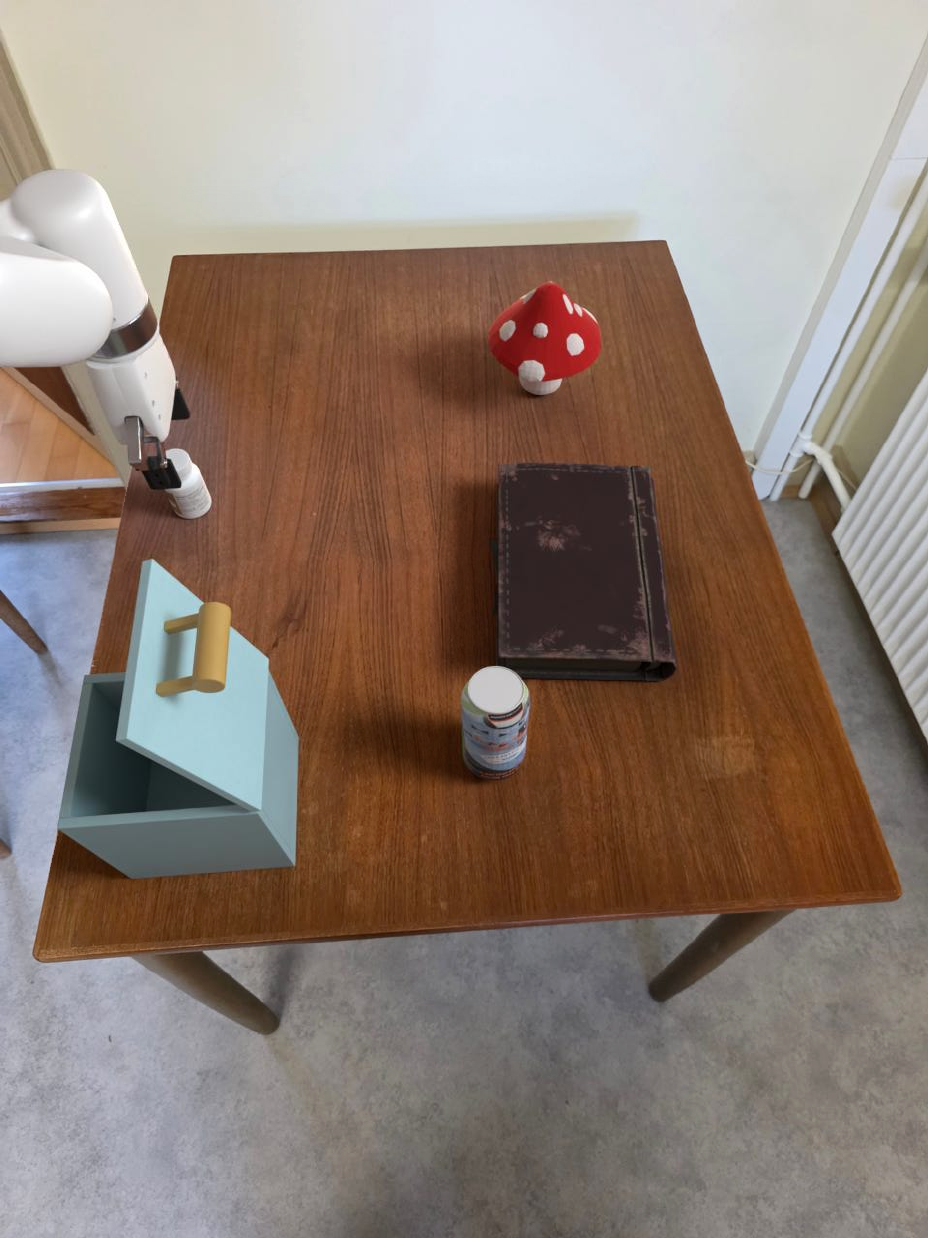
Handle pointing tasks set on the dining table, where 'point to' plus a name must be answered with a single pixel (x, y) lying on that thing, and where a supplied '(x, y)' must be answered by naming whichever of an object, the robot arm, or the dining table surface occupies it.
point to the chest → (173, 799)
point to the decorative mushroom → (545, 338)
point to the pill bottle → (188, 487)
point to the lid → (194, 691)
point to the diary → (580, 573)
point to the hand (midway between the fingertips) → (171, 451)
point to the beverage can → (494, 723)
